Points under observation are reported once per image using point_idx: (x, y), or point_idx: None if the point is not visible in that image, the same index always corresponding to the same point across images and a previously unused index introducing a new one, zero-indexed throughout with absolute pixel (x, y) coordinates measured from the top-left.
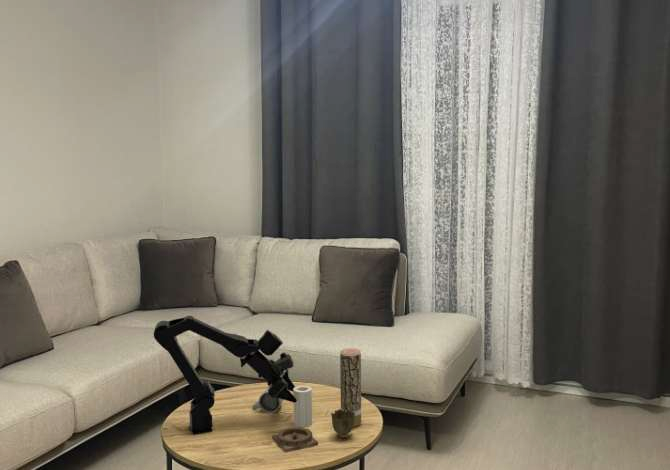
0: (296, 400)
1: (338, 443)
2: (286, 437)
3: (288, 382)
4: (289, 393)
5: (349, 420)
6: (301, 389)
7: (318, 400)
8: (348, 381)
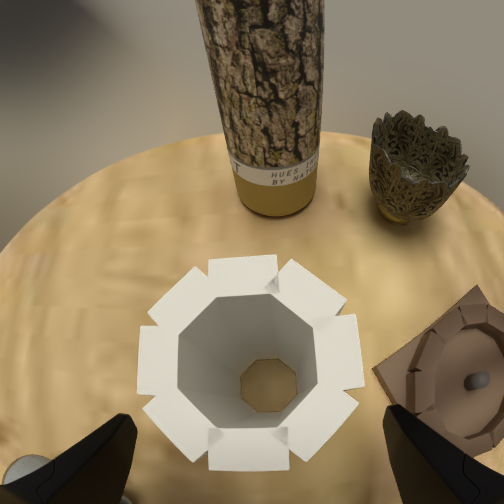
0: (401, 406)
1: (442, 224)
2: (460, 421)
3: (78, 501)
4: (472, 467)
5: (441, 138)
6: (186, 377)
7: (41, 311)
8: (323, 8)
